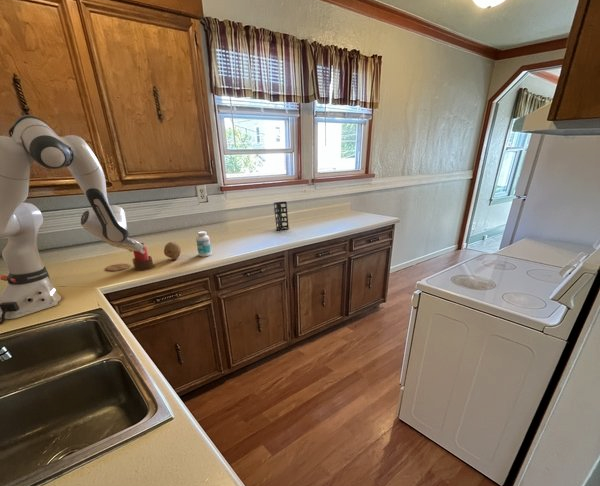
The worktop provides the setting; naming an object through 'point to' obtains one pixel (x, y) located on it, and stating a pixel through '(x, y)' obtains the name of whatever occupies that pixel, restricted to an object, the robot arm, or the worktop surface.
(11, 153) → the robot arm
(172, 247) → the natural sponge
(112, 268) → the coaster
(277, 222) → the holder
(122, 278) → the worktop surface
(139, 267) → the cup
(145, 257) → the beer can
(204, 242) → the pill bottle
